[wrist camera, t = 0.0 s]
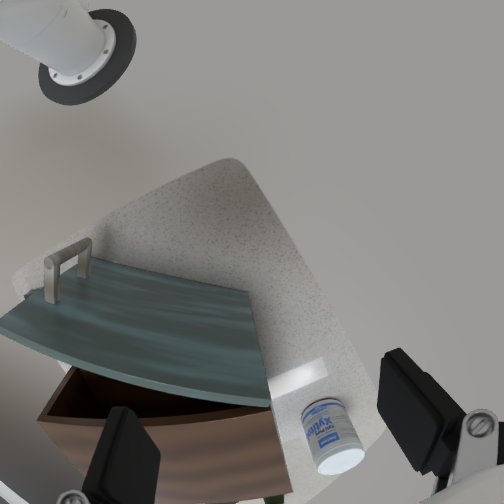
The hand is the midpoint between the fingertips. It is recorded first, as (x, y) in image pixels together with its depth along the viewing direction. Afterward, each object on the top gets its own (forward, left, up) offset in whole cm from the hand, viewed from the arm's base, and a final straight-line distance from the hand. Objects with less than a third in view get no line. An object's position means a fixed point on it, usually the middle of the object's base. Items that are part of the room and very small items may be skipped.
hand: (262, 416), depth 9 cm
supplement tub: (+41, +10, -35) cm, 55 cm away
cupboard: (+19, -13, -34) cm, 42 cm away
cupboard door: (+2, -11, -34) cm, 36 cm away
